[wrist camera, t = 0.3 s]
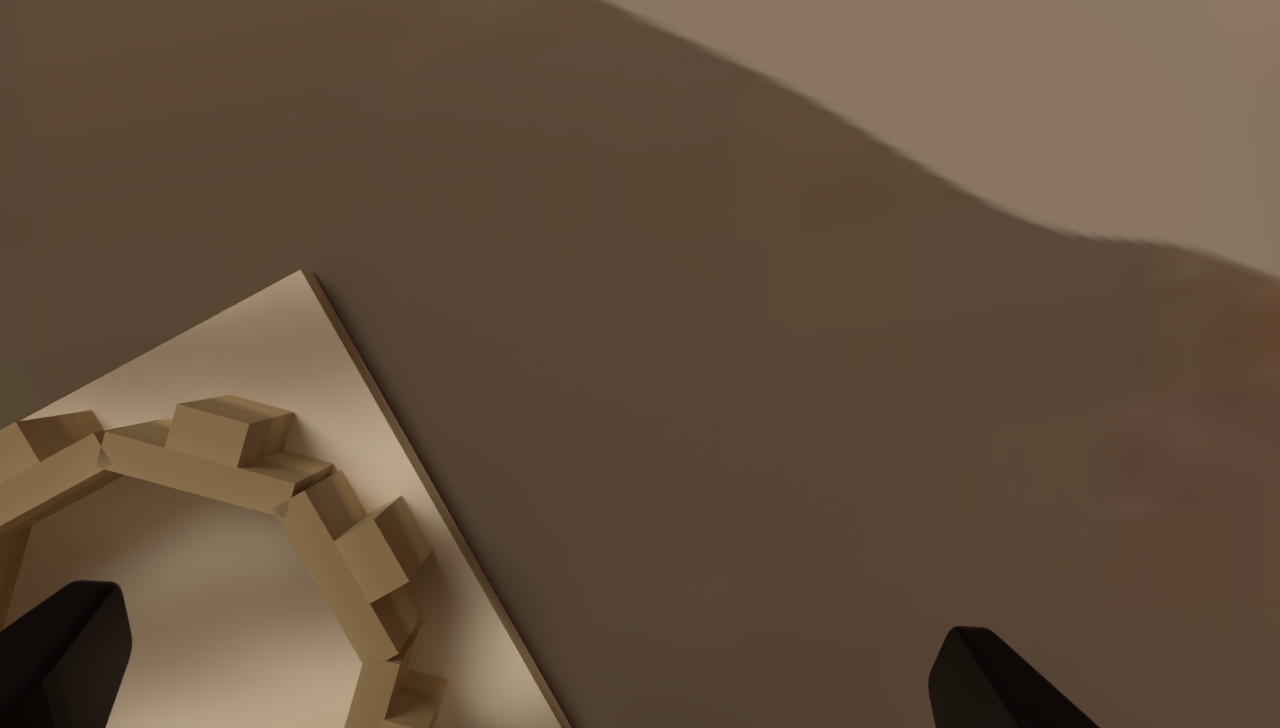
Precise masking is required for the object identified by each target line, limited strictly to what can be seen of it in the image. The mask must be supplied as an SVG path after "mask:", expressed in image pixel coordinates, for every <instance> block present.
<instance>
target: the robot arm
mask: <svg viewBox="0 0 1280 728" xmlns="http://www.w3.org/2000/svg"><path fill="white" fill-rule="evenodd" d="M131 651H132V633H131V628H130V623H129V619H128V614H127V610H126V605H125V600H124V596H123V592H122V589H121V587H120V586H119V585H118V584H117V583H115V582H112V581H97V580H76V581H73V582H71V583H69V584H67V585H65V586H64V587H62V588H61V589H60V590H58V591H57V592H55V593H54V594H52V595H51V596H50V597H48V598H47V599H45V600H44V601H42V602H41V603H40V604H38V605H37V606H35V607H34V608H32V609H31V610H30V611H28V612H27V613H25V614H24V615H22V616H21V617H20V618H18V619H17V620H15V621H14V622H12V623H11V624H10V625H8V626H7V627H5V628H4V629H2V630H1V631H0V728H106V726H107V723H108V720H109V717H110V714H111V711H112V708H113V706H114V703H115V700H116V697H117V694H118V691H119V688H120V685H121V683H122V680H123V677H124V674H125V671H126V668H127V665H128V662H129V659H130V655H131ZM928 688H929V697H930V702H931V706H932V711H933V716H934V721H935V726H936V728H1100V727H1099V726H1098V725H1096V724H1095V723H1094V722H1093V721H1092V720H1091V719H1090V718H1089V717H1088V716H1086V715H1085V714H1084V713H1083V712H1082V711H1081V710H1080V709H1079V708H1078V707H1076V706H1075V705H1074V704H1073V703H1072V702H1071V701H1070V700H1069V699H1068V698H1066V697H1065V696H1064V695H1063V694H1062V693H1061V692H1060V691H1059V690H1058V689H1056V688H1055V687H1054V686H1053V685H1052V684H1051V683H1050V682H1049V681H1048V680H1046V679H1045V678H1044V677H1043V676H1042V675H1041V674H1040V673H1039V672H1038V671H1036V670H1035V669H1034V668H1033V667H1032V666H1031V665H1030V664H1029V663H1028V662H1026V661H1025V660H1024V659H1023V658H1022V657H1021V656H1020V655H1019V654H1018V653H1016V652H1015V651H1014V650H1013V649H1012V648H1011V647H1010V646H1009V645H1008V644H1006V643H1005V642H1004V641H1003V640H1002V639H1001V638H1000V637H999V636H998V635H996V634H995V633H994V632H993V631H991V630H989V629H987V628H983V627H967V626H956V627H954V628H952V629H951V630H950V631H949V632H948V634H947V636H946V638H945V640H944V643H943V645H942V647H941V649H940V651H939V654H938V656H937V658H936V660H935V663H934V665H933V667H932V669H931V672H930V675H929V683H928Z"/></svg>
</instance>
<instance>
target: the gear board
mask: <svg viewBox="0 0 1280 728" xmlns="http://www.w3.org/2000/svg"><path fill="white" fill-rule="evenodd" d="M76 580H97V581H112V582H115V583H117V584H118V585H119V586H120V587H121V589H122V592H123V596H124V600H125V605H126V610H127V614H128V619H129V623H130V628H131V633H132V651H131V655H130V659H129V662H128V665H127V668H126V671H125V674H124V677H123V680H122V683H121V685H120V688H119V691H118V694H117V697H116V700H115V703H114V706H113V708H112V711H111V714H110V717H109V720H108V723H107V726H106V728H571V726H570V724H569V722H568V720H567V719H566V717H565V715H564V713H563V712H562V710H561V708H560V706H559V705H558V703H557V701H556V699H555V697H554V696H553V694H552V692H551V690H550V689H549V687H548V685H547V683H546V682H545V680H544V678H543V676H542V675H541V673H540V671H539V669H538V668H537V666H536V664H535V662H534V661H533V659H532V657H531V655H530V654H529V652H528V650H527V648H526V646H525V645H524V643H523V641H522V639H521V638H520V636H519V634H518V632H517V631H516V629H515V627H514V625H513V624H512V622H511V620H510V618H509V617H508V615H507V613H506V611H505V610H504V608H503V606H502V604H501V603H500V601H499V599H498V597H497V596H496V594H495V592H494V590H493V588H492V587H491V585H490V583H489V581H488V580H487V578H486V576H485V574H484V573H483V571H482V569H481V567H480V566H479V564H478V562H477V560H476V559H475V557H474V555H473V553H472V552H471V550H470V548H469V546H468V545H467V543H466V541H465V539H464V538H463V536H462V534H461V532H460V530H459V529H458V527H457V525H456V523H455V522H454V520H453V518H452V516H451V515H450V513H449V511H448V509H447V508H446V506H445V504H444V502H443V501H442V499H441V497H440V495H439V494H438V492H437V490H436V488H435V487H434V485H433V483H432V481H431V479H430V478H429V476H428V474H427V472H426V471H425V469H424V467H423V465H422V464H421V462H420V460H419V458H418V457H417V455H416V453H415V451H414V450H413V448H412V446H411V444H410V443H409V441H408V439H407V437H406V436H405V434H404V432H403V430H402V429H401V427H400V425H399V423H398V421H397V420H396V418H395V416H394V414H393V413H392V411H391V409H390V407H389V406H388V404H387V402H386V400H385V399H384V397H383V395H382V393H381V392H380V390H379V388H378V386H377V385H376V383H375V381H374V379H373V378H372V376H371V374H370V372H369V371H368V369H367V367H366V365H365V363H364V362H363V360H362V358H361V356H360V355H359V353H358V351H357V349H356V348H355V346H354V344H353V342H352V341H351V339H350V337H349V335H348V334H347V332H346V330H345V328H344V327H343V325H342V323H341V321H340V320H339V318H338V316H337V314H336V312H335V311H334V309H333V307H332V305H331V304H330V302H329V300H328V298H327V297H326V295H325V293H324V291H323V290H322V288H321V286H320V284H319V283H318V281H317V279H316V277H315V276H314V274H313V272H309V271H304V270H299V271H297V272H295V273H293V274H292V275H290V276H288V277H286V278H284V279H282V280H280V281H279V282H277V283H275V284H273V285H271V286H269V287H267V288H266V289H264V290H262V291H260V292H258V293H256V294H255V295H253V296H251V297H249V298H247V299H245V300H243V301H242V302H240V303H238V304H236V305H234V306H232V307H230V308H229V309H227V310H225V311H223V312H221V313H219V314H217V315H216V316H214V317H212V318H210V319H208V320H206V321H204V322H203V323H201V324H199V325H197V326H195V327H193V328H192V329H190V330H188V331H186V332H184V333H182V334H180V335H179V336H177V337H175V338H173V339H171V340H169V341H167V342H166V343H164V344H162V345H160V346H158V347H156V348H154V349H153V350H151V351H149V352H147V353H145V354H143V355H141V356H140V357H138V358H136V359H134V360H132V361H130V362H129V363H127V364H125V365H123V366H121V367H119V368H117V369H116V370H114V371H112V372H110V373H108V374H106V375H104V376H103V377H101V378H99V379H97V380H95V381H93V382H91V383H90V384H88V385H86V386H84V387H82V388H80V389H78V390H77V391H75V392H73V393H71V394H69V395H67V396H65V397H64V398H62V399H60V400H58V401H56V402H54V403H53V404H51V405H49V406H47V407H45V408H43V409H41V410H40V411H38V412H36V413H34V414H32V415H30V416H28V417H27V418H25V419H23V420H21V421H18V422H14V423H13V424H11V425H9V426H7V427H5V428H3V429H2V430H0V631H1V630H2V629H4V628H5V627H7V626H8V625H10V624H11V623H12V622H14V621H15V620H17V619H18V618H20V617H21V616H22V615H24V614H25V613H27V612H28V611H30V610H31V609H32V608H34V607H35V606H37V605H38V604H40V603H41V602H42V601H44V600H45V599H47V598H48V597H50V596H51V595H52V594H54V593H55V592H57V591H58V590H60V589H61V588H62V587H64V586H65V585H67V584H69V583H71V582H73V581H76Z"/></svg>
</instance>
